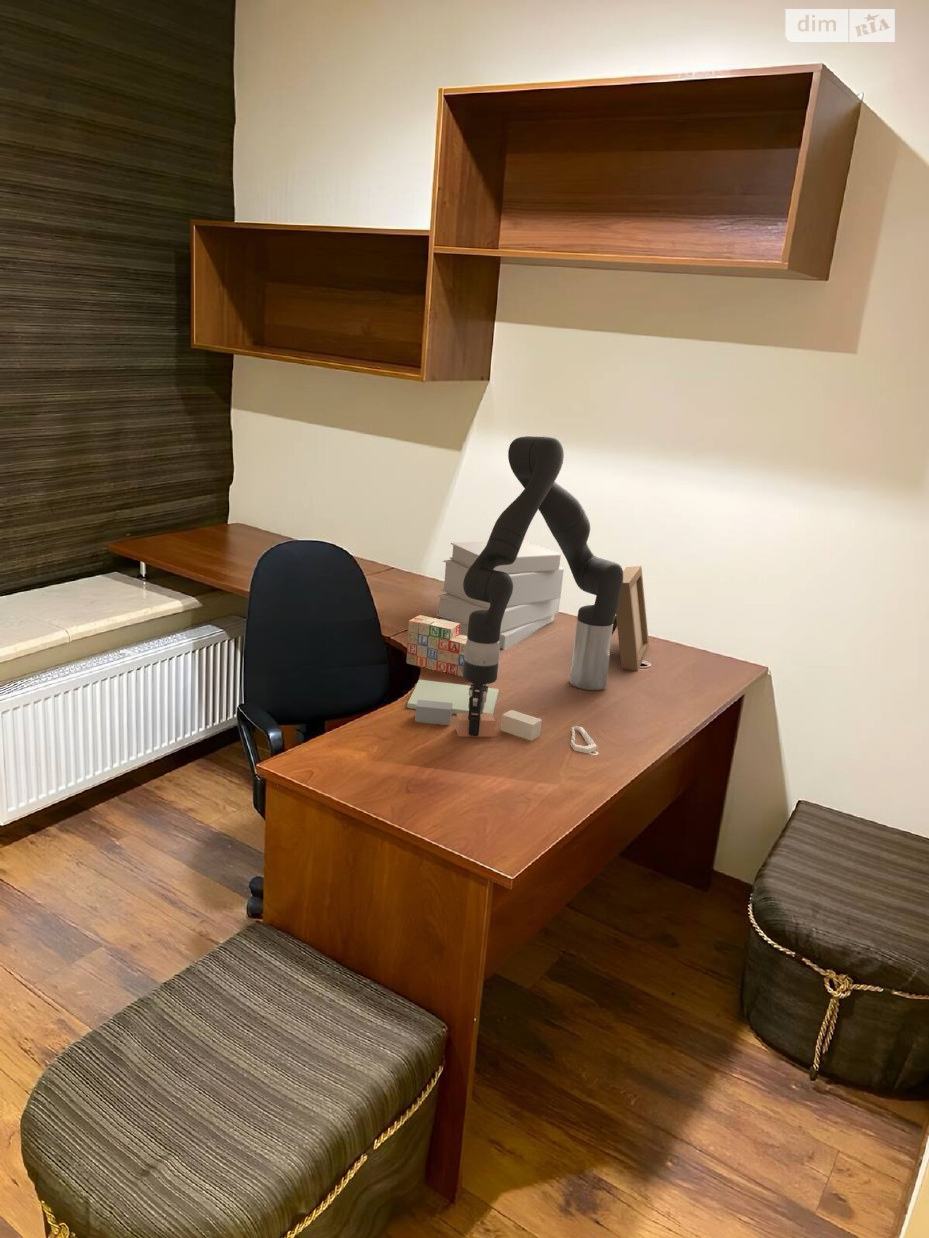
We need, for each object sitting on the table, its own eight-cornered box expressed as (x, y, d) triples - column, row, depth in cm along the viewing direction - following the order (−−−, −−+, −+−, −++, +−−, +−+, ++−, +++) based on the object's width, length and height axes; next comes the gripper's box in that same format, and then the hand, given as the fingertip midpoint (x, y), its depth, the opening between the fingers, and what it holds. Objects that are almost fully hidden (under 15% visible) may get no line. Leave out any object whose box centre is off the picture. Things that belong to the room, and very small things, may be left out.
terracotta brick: (490, 729, 210) (491, 713, 209) (493, 737, 207) (495, 720, 205) (455, 729, 209) (456, 713, 208) (458, 737, 205) (459, 720, 204)
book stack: (567, 629, 288) (577, 547, 280) (514, 657, 259) (524, 567, 251) (482, 608, 302) (489, 530, 294) (424, 633, 273) (430, 547, 265)
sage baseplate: (498, 693, 231) (498, 689, 231) (492, 718, 216) (492, 713, 216) (418, 683, 233) (419, 679, 233) (407, 707, 218) (407, 703, 217)
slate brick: (451, 719, 214) (452, 702, 213) (449, 726, 210) (451, 709, 209) (416, 715, 215) (417, 699, 213) (414, 722, 211) (415, 706, 210)
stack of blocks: (488, 674, 244) (492, 630, 240) (478, 681, 238) (482, 636, 235) (416, 657, 252) (419, 614, 249) (405, 663, 247) (408, 619, 243)
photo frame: (648, 651, 273) (661, 569, 265) (637, 674, 253) (650, 586, 245) (599, 642, 277) (609, 561, 270) (583, 664, 257) (594, 577, 250)
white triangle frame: (559, 732, 213) (560, 725, 212) (580, 731, 214) (581, 724, 214) (577, 757, 201) (578, 749, 200) (599, 757, 202) (600, 749, 201)
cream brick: (540, 736, 209) (541, 719, 208) (531, 741, 206) (533, 724, 205) (509, 725, 213) (511, 709, 212) (500, 731, 210) (502, 714, 209)
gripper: (495, 671, 195) (488, 745, 200) (501, 650, 209) (494, 720, 214) (460, 667, 196) (453, 741, 201) (468, 646, 210) (462, 715, 215)
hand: (474, 729), depth 207 cm, fingers open, 5 cm apart
